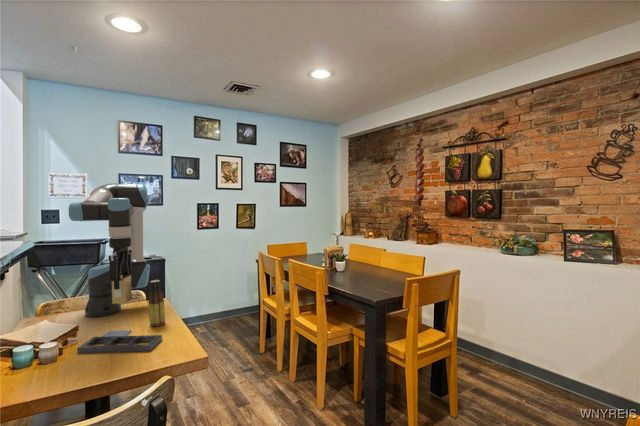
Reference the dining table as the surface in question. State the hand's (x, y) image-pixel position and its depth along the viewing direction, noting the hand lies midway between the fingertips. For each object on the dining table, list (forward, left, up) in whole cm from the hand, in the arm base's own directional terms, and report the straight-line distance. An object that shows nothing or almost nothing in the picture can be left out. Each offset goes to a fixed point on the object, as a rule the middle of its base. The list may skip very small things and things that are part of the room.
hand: (122, 294), depth 135 cm
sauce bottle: (-14, +7, -18) cm, 24 cm away
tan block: (0, 0, -3) cm, 3 cm away
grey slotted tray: (+8, +3, -18) cm, 20 cm away
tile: (-2, -5, -18) cm, 18 cm away
